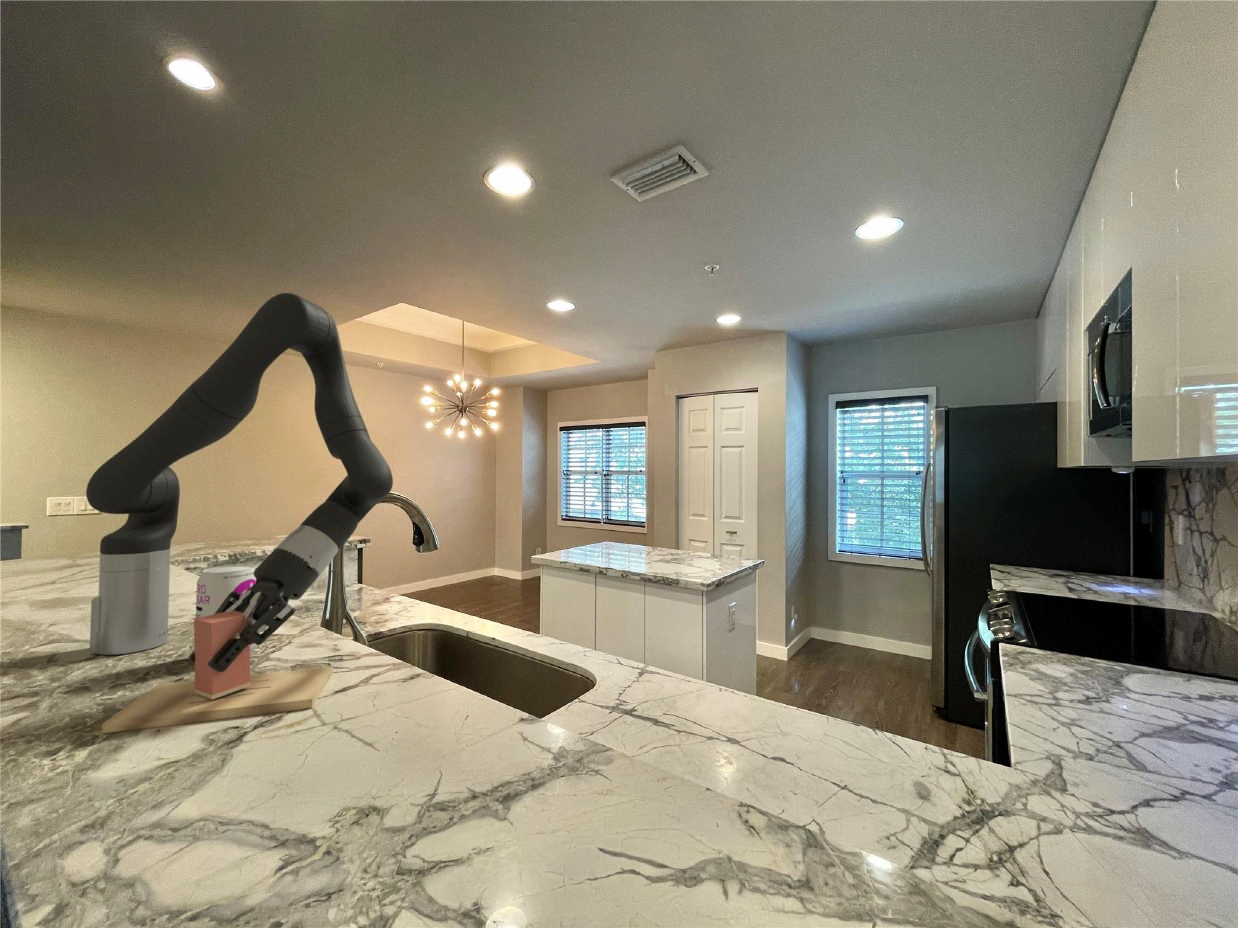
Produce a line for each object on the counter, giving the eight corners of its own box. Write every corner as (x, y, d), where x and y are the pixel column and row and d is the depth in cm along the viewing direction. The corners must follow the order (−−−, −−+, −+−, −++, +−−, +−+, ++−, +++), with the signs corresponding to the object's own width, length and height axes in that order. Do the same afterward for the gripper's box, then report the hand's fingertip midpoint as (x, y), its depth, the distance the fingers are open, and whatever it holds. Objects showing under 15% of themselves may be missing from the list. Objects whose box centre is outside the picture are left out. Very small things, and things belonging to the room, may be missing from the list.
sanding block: (212, 699, 66) (211, 623, 66) (194, 692, 68) (193, 618, 68) (251, 685, 70) (250, 613, 70) (233, 679, 72) (232, 609, 72)
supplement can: (267, 649, 89) (269, 565, 90) (226, 667, 81) (229, 573, 82) (225, 648, 90) (227, 564, 91) (181, 664, 82) (183, 572, 82)
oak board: (102, 733, 60) (102, 722, 60) (158, 692, 71) (158, 683, 71) (312, 707, 67) (312, 698, 67) (332, 674, 78) (332, 666, 78)
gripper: (254, 543, 79) (154, 643, 68) (309, 549, 73) (209, 661, 61) (288, 571, 84) (200, 669, 73) (343, 579, 77) (255, 688, 66)
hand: (205, 665), depth 67 cm, fingers closed on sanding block, 4 cm apart
